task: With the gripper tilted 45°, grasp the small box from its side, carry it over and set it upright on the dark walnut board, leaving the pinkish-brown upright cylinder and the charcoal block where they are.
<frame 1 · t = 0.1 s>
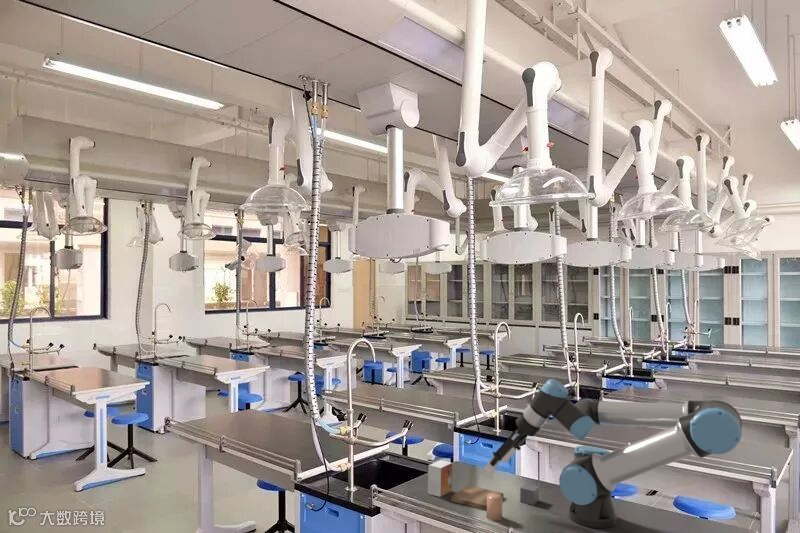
hand: (495, 465, 189), 15 cm above the table, tool tilted 35°, fingers open, 13 cm apart
small box: (440, 493, 205), on the table
walnut board: (477, 499, 199), on the table
charcoal block: (529, 501, 198), on the table
pinkish-brown upright cylinder: (494, 517, 184), on the table
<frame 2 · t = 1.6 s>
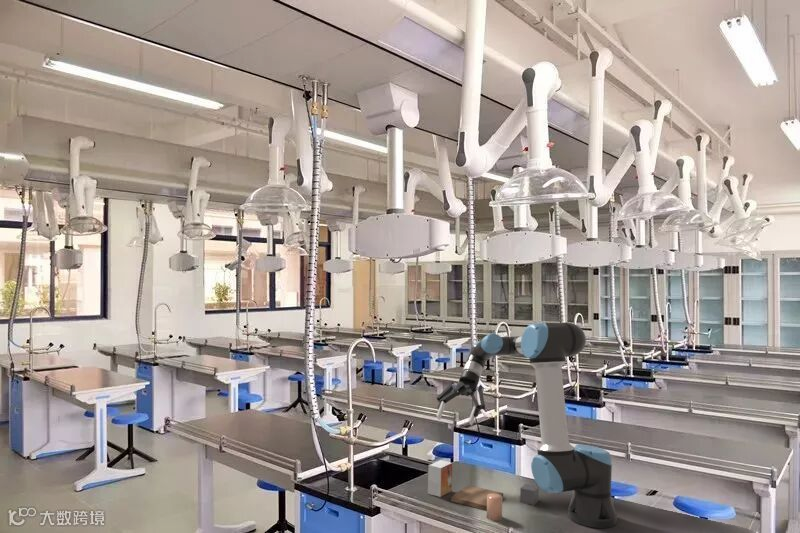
hand: (453, 420, 214), 24 cm above the table, tool tilted 45°, fingers open, 13 cm apart
nothing on the table moved.
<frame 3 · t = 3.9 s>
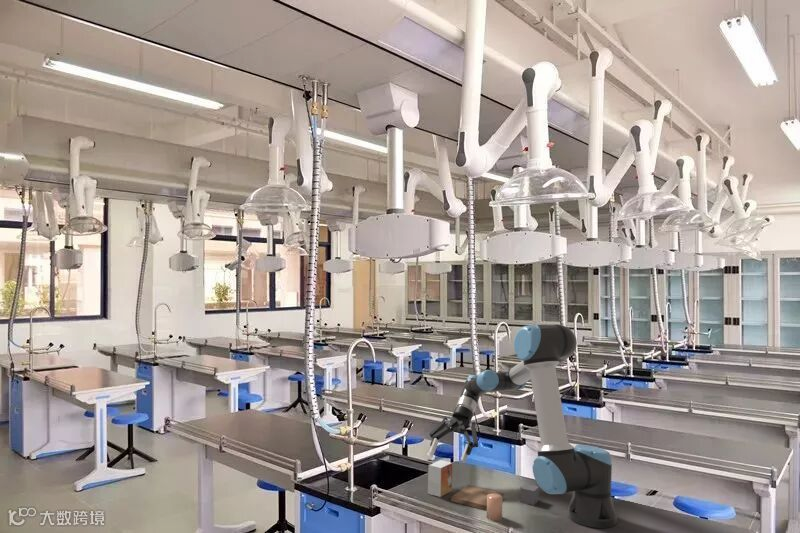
hand: (446, 458, 211), 11 cm above the table, tool tilted 45°, fingers open, 13 cm apart
nothing on the table moved.
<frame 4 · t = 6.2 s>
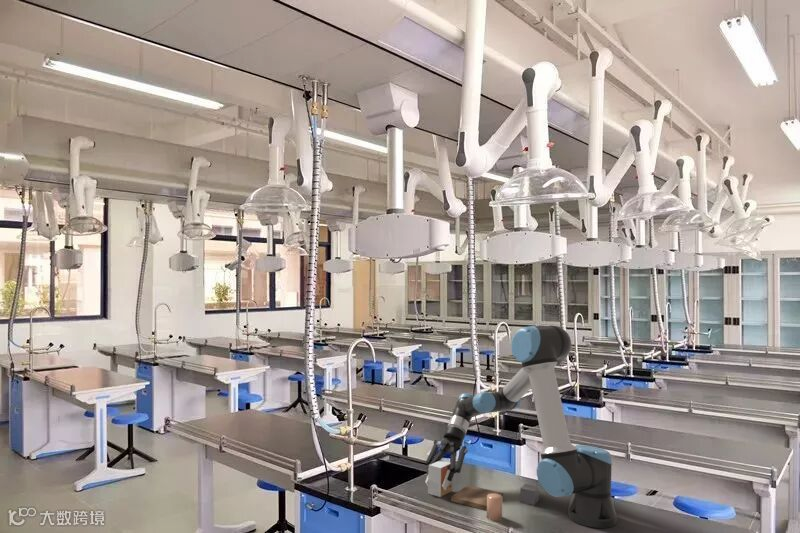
hand: (435, 486, 202), 3 cm above the table, tool tilted 45°, fingers closed on small box, 6 cm apart
small box: (440, 493, 205), on the table, touching gripper
everything else where it was.
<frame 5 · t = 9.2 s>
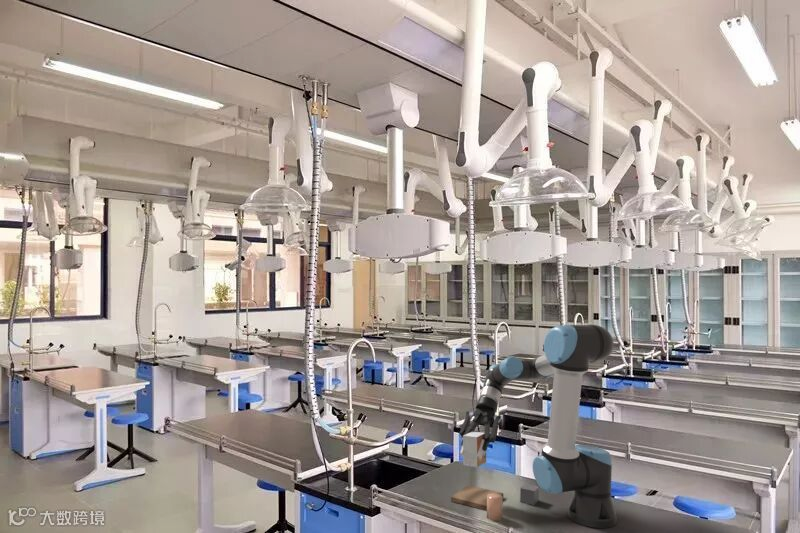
hand: (470, 456, 197), 16 cm above the table, tool tilted 45°, fingers closed on small box, 6 cm apart
small box: (475, 464, 200), point 12 cm above the table, touching gripper
everything else where it was.
when the fingers open (6 cm above the table, at t = 11.7 s): small box stays where it is, resting on walnut board.
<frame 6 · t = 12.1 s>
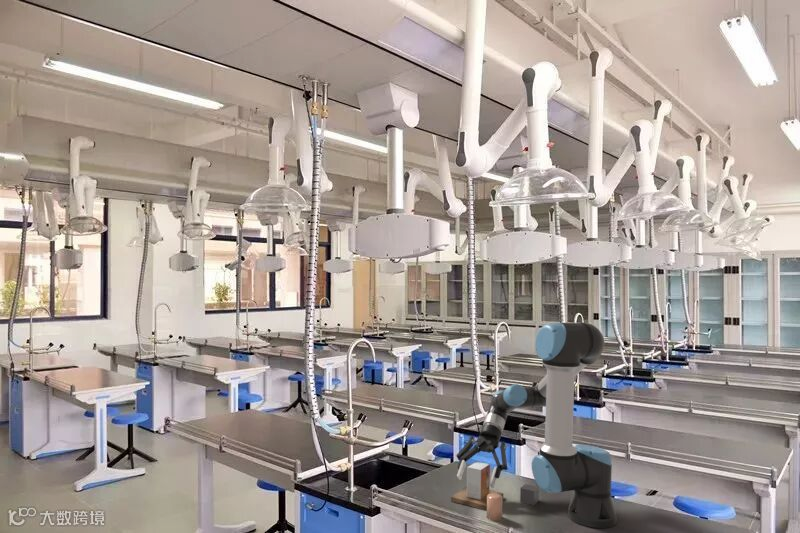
hand: (474, 482, 197), 7 cm above the table, tool tilted 45°, fingers open, 12 cm apart
small box: (478, 495, 199), point 1 cm above the table, touching walnut board
everything else where it was.
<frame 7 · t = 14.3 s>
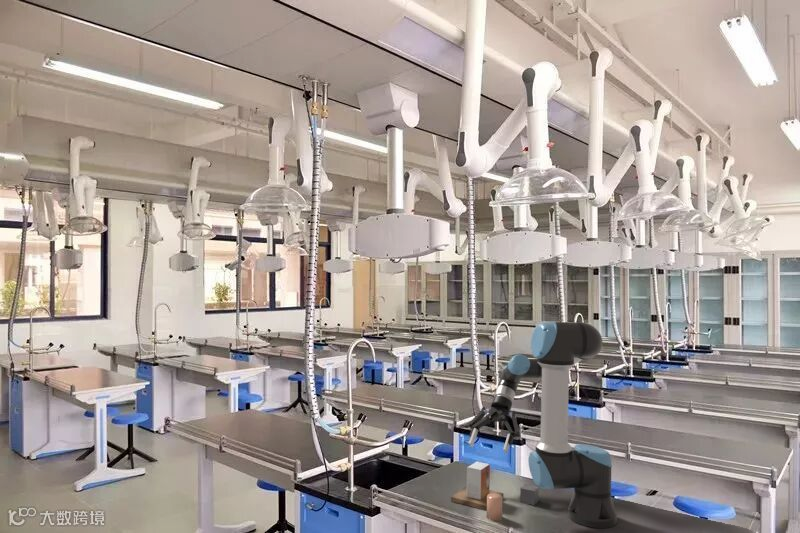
hand: (487, 448, 207), 16 cm above the table, tool tilted 45°, fingers open, 13 cm apart
nothing on the table moved.
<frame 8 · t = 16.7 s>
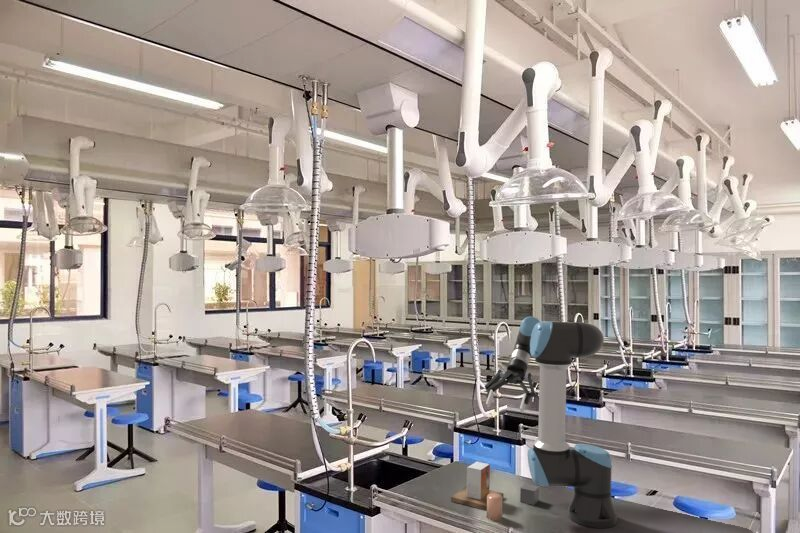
hand: (504, 408, 213), 30 cm above the table, tool tilted 45°, fingers open, 13 cm apart
nothing on the table moved.
at the end: small box inside the target area on the walnut board (0.2 cm from its centre), point 1.3 cm above the walnut board's base; small box tilted 0°; pinkish-brown upright cylinder moved 0.0 cm from its start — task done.
